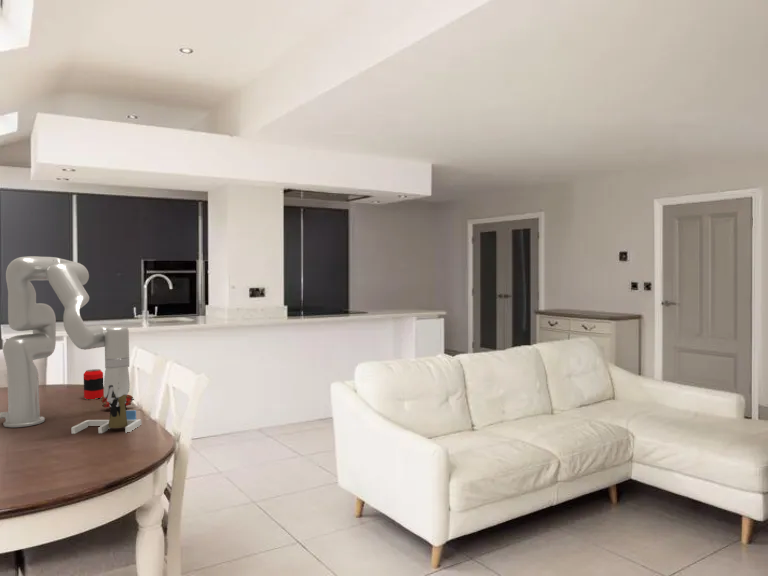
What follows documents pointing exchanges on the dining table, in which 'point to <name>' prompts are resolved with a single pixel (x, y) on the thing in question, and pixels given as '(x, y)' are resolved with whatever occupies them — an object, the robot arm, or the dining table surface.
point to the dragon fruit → (106, 404)
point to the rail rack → (104, 424)
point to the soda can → (93, 384)
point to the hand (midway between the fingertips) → (118, 416)
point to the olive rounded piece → (122, 419)
